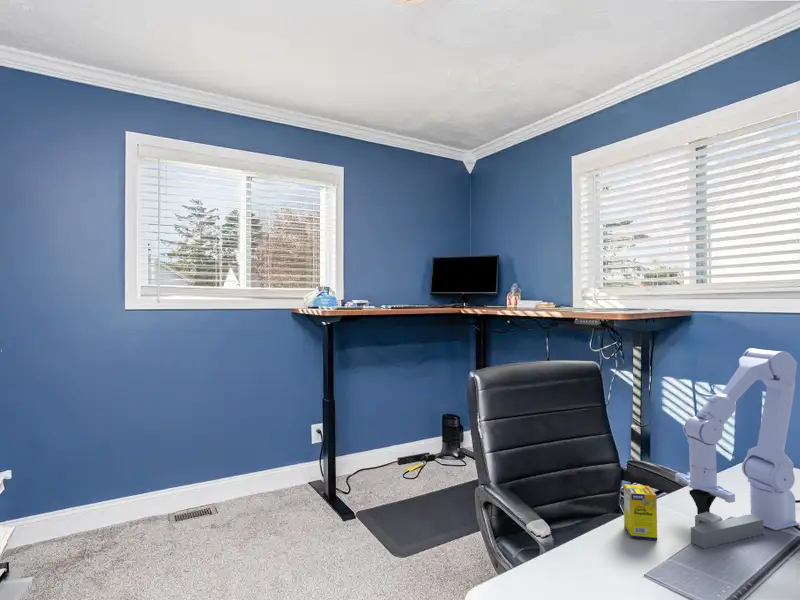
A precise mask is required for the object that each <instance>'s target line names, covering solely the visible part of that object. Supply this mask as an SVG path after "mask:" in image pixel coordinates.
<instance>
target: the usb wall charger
mask: <svg viewBox="0 0 800 600" xmlns="http://www.w3.org/2000/svg"><path fill="white" fill-rule="evenodd" d="M722 520H723V518H722V516H720V515H718V514H715V513H712V512H704V513H701V514H696V515H694V527H695V526H699V525H704V524H708V523H713V522H718V521H722Z"/></svg>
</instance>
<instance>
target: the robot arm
mask: <svg viewBox="0 0 800 600" xmlns="http://www.w3.org/2000/svg"><path fill="white" fill-rule="evenodd" d="M738 365H739V366H738V368H737V369H736V371H734V373H733V375H732V376H731V378H730V379H729V381H728V383H726V385H725V387H724V389H722V391H721V393H717V394H713V395H711V396H709V397H708V399H707V402H706V403H705V404H704V405H703V406H702V408H700V410H699V412H697V414H696V415H695V416H692V417H690V418H688V419H687V420H686V421H685V423H684V426H682V431H683V433H684V436H686V438H687V440H686V441H687V443H688V446H689V447H688V449H689V450H688V451H689V453H688V455H689V456H688V457H689V474H685V473H682V472H679V473H675V474H674V480H675V482H677V483H683V484H684V485H687V486H688V488H691V489H690V490H689V491H688V492H689V493H688V494H689V495H690V497H691V498H692V500H693V502H694V504H695V507H696V509H697V510H696V511H697V512H696V513H697V514H696V515H698V514H701V513H704V512H710V511H711V509H710V508H711V506H712V504H713V502H714V501H715V500H716V498H719V499H722V500H724V502H726V503H729V504H730V503H734V502H736V494H735V493H734V492H731V491H729V490H728V489H726V488H724V487H723V486H721V485H719V484H718V477H717V475H718V473H717V443H718V442H720V440H721V439H722V437H723V430H724V427H725V424H726V423H727V421H728V420H730V418H731V416H732V415H733V414H734V413H735V412H736V410H737V403H736V402H737V401H738V399H740V397H742V396H743V395H744V393H746V391H747V390H748V389H749V388H750V387H751V386H752V385H753V384H754V383H755V382H756V381H762V383H763V384H764V385H765V386H766V391H765V397H764V404H763V410H762V415H761V422H760V428H759V432H758V437H757V438H758V439H757V445H755V446H754V447H751V448H749V449H748V450H747V455H746V456H745V459H744V460H743V462H742V465H741V470H742V471H741V472H742V473H743V475H744V476H745V477H746V478H747V482H748V483H750V484H749V486H750V487H749V488H750V493H749V494H750V512H749V513H745V514H742V515H741V516H745V515H750V514H751V515H753V516H756V517H758V518H761V519H763V527H766V528H768V529H770V530H773V531H778V530H783V529H787V528H791V527H796V526H799V525H800V521H797V520H796V496H795V495H794V493H793V491H792V490H791V489H792V488H793V487H794V484H795V482H796V481H795V480H796V478H795V473H794V467H795V466H794V465H795V464H794V462H793V461H792V460H791V459H790V457H788V454H786V453H785V450H786V449H785V448H786V442H787V437H788V431H789V425H790V420H791V414H792V413H791V412H792V408H793V401H794V397H795V396H794V395H795V389H796V374H797V367H798V362H797V360H796V359H795V358H794V357H793V356H792V354H791V353H789V352H788V351H783V350H782V351H781V350H780V351H778V350H769V349H768V350H767V349H760V348H759V349H758V348H754V347H753V348H748V349H747V350H745V351H744V352H743V354H742V356H741V357H740V358H739V359H738ZM710 513H711V512H710Z"/></svg>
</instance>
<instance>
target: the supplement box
mask: <svg viewBox="0 0 800 600" xmlns="http://www.w3.org/2000/svg"><path fill="white" fill-rule="evenodd" d="M657 498H658V497H657V494H656V493H655V492H654V491H653V489H652V488H651V487H650V486H649V485H639V484H623V521H624V522H623V523H624V524H623V525H624V526H623V527H624V529H625V531H626V532H627V534H628V536H629V538H630V539H632V540H633V539H634V540H644V541H645V540H646V541H655V542H657V541H658V520H657V519H658V514H657V511H658V510H657V509H658V507H657V505H658V504H657V500H658V499H657Z"/></svg>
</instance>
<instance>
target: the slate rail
mask: <svg viewBox="0 0 800 600" xmlns="http://www.w3.org/2000/svg"><path fill="white" fill-rule="evenodd" d="M744 515H745V514H744ZM764 527H765V526H763V519H761V518H758V517H756V516H753V515H751V514H750V515H745V516H742V515H741V516H736V517H733V518H727V519H722V521H718V522H713V523H708V524H704V525H699V526H695V525H694V526H691V527H690V543H691V544H694V545H695V544H696V545H695V546H697V545H698V546H697V547H699V546H700V547H699V548H701V547H702V549H703V548H704V549H707V548H706V547H708V548H710V546H712V547H715V546H714V545H716V546H719V544H720V545H723V543H724V544H727V543H726V542H729V543H731V542H730V541H733V542H735V541H734V540H737V541H739V539H741V540H744V539H743V538H745V539H747V538H746V537H749V538H751V537H750V536H754V537H756V536H755V535H758V536H762V535H764V532H765V531H764V529H765V528H764ZM761 534H762V535H761Z"/></svg>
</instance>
